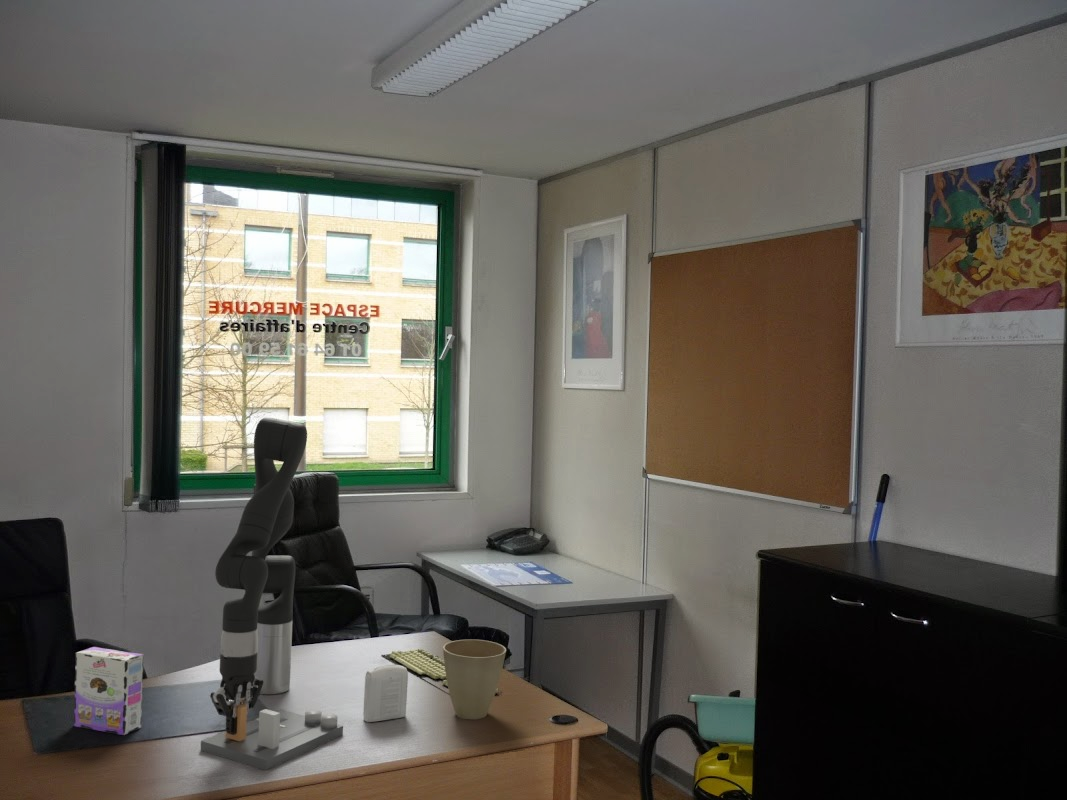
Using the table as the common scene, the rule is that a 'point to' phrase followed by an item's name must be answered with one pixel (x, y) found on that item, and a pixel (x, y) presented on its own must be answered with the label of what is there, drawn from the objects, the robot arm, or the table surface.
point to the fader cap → (240, 724)
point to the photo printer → (385, 693)
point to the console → (276, 737)
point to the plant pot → (473, 675)
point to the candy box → (108, 690)
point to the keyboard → (421, 664)
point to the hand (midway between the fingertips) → (235, 731)
